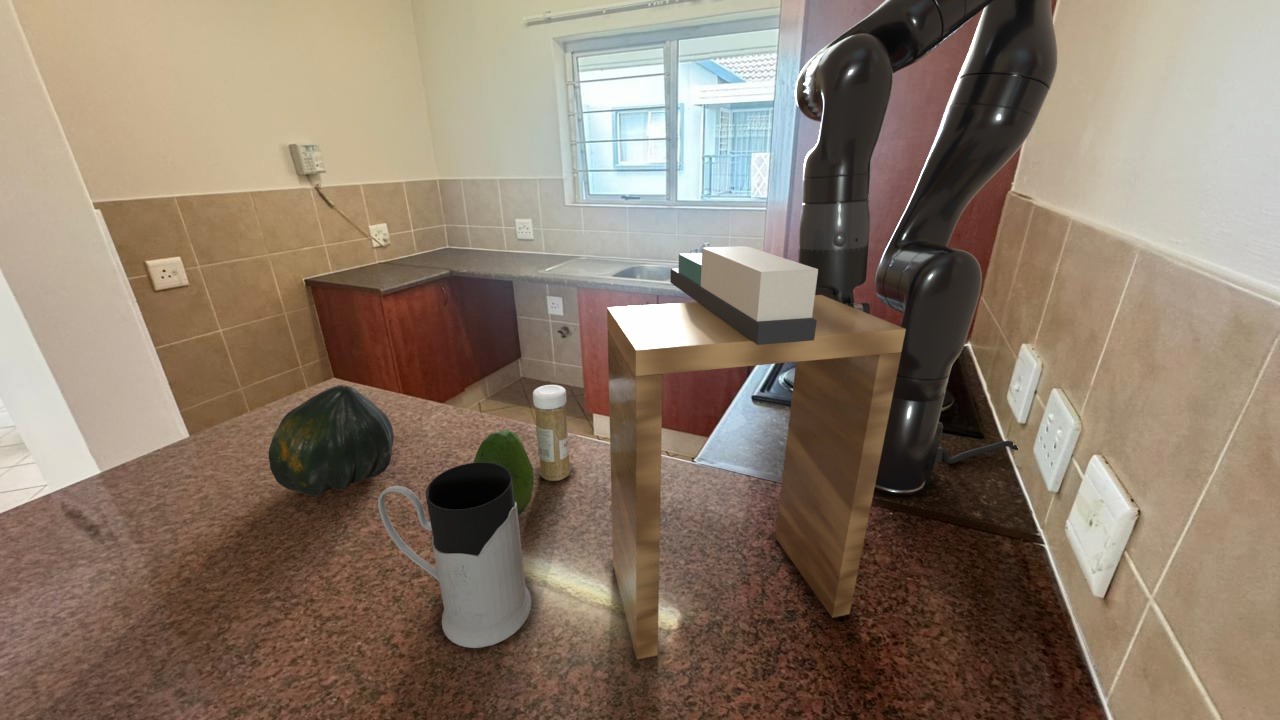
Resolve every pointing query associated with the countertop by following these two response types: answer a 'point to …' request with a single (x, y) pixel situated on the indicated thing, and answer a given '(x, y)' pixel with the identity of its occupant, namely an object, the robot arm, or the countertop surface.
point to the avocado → (510, 463)
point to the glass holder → (472, 551)
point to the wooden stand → (815, 450)
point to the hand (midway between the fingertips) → (826, 374)
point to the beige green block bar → (752, 291)
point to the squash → (331, 442)
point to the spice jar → (552, 431)
